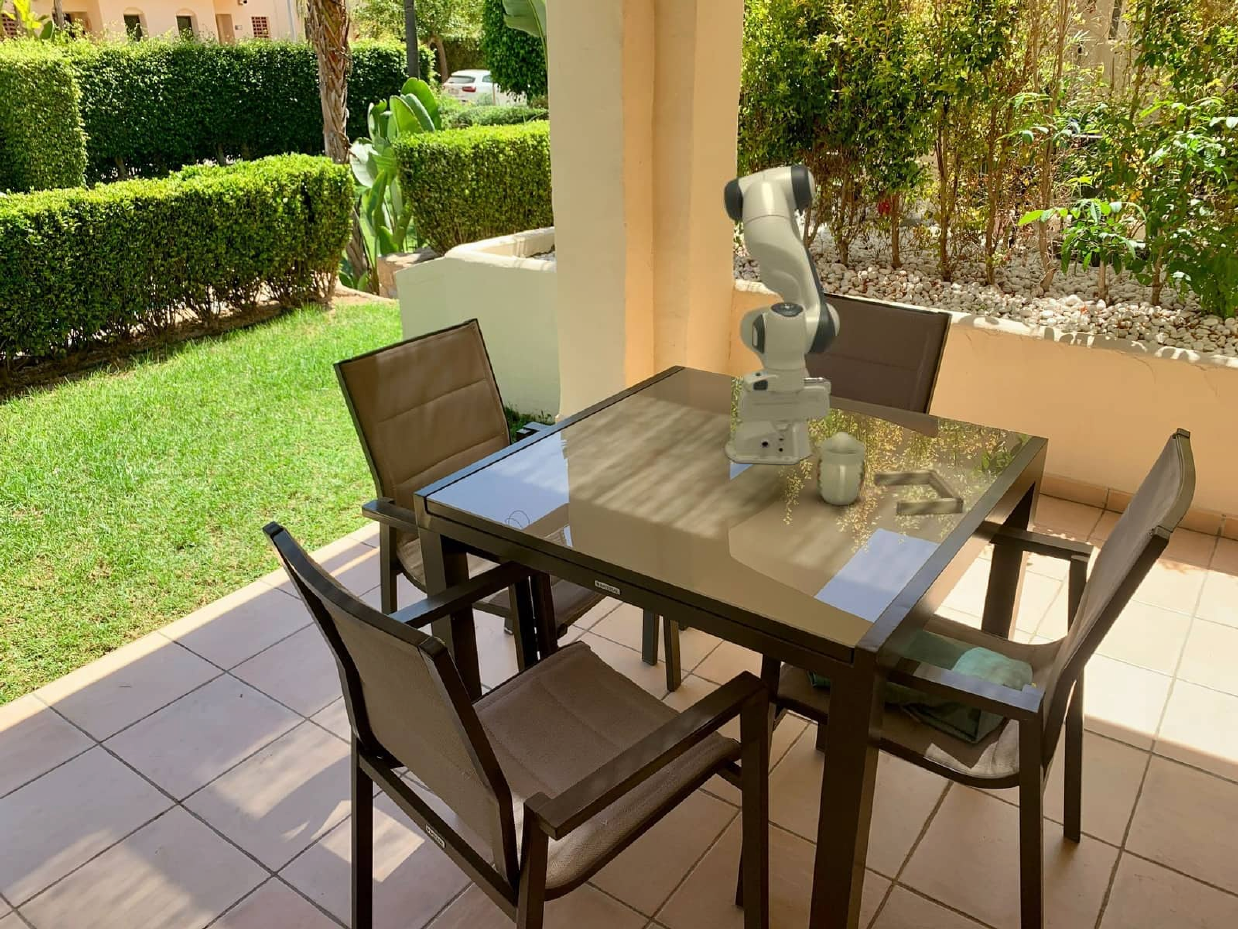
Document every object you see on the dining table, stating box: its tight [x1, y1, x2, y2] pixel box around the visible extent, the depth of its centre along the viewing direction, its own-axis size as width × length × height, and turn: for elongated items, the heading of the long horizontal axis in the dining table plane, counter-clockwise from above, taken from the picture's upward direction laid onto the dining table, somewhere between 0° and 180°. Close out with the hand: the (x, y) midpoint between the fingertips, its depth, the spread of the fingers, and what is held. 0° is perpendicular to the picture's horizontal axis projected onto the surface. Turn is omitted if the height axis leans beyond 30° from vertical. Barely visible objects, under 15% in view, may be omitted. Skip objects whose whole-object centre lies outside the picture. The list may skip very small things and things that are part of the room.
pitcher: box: [815, 431, 867, 506], centre depth 212 cm, size 11×18×14 cm, turn 169°
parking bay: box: [873, 469, 965, 516], centre depth 215 cm, size 14×18×3 cm
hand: (782, 438), depth 208 cm, fingers closed
